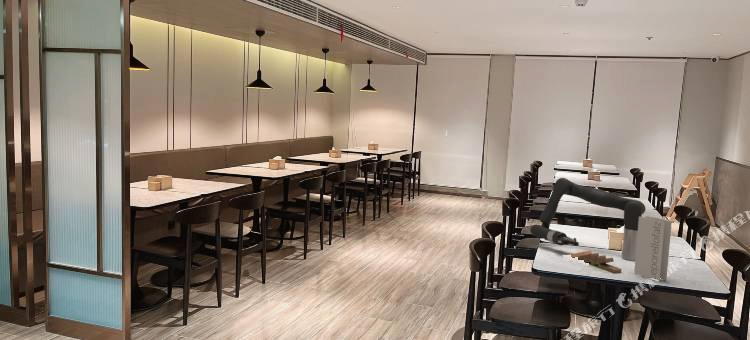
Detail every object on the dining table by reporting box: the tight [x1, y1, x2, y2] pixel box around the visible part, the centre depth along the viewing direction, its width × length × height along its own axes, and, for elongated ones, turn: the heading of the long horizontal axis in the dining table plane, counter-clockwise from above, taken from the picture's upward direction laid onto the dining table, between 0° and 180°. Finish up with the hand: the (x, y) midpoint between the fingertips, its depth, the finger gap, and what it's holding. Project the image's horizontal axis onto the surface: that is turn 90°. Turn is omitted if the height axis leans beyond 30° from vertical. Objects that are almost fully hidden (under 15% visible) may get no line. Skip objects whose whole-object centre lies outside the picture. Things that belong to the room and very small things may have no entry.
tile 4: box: [591, 257, 614, 265], centre depth 298 cm, size 2×5×11 cm
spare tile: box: [570, 250, 593, 258], centre depth 312 cm, size 2×5×11 cm
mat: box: [588, 262, 610, 273], centre depth 307 cm, size 36×11×1 cm, turn 22°
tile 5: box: [598, 263, 622, 274], centre depth 293 cm, size 2×5×11 cm
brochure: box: [633, 215, 673, 282], centre depth 282 cm, size 14×6×30 cm, turn 27°
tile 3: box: [584, 254, 607, 263], centre depth 302 cm, size 2×5×11 cm
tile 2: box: [578, 252, 600, 260], centre depth 307 cm, size 2×5×11 cm
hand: (577, 244), depth 314 cm, fingers closed
